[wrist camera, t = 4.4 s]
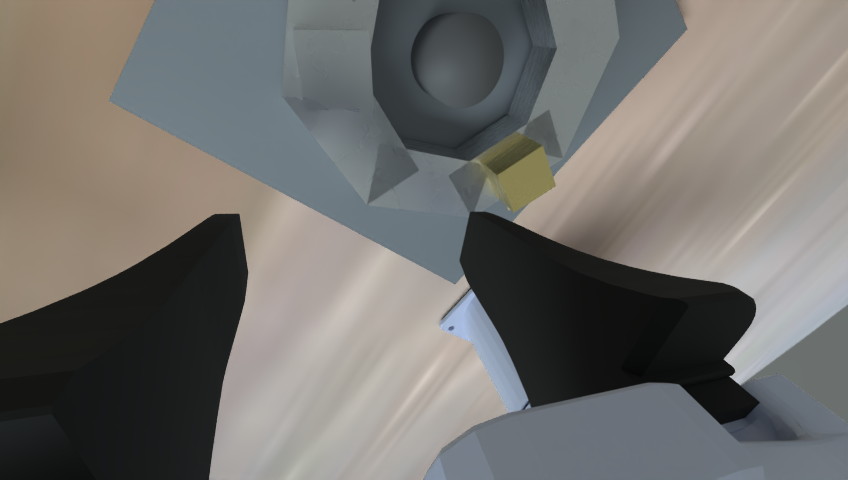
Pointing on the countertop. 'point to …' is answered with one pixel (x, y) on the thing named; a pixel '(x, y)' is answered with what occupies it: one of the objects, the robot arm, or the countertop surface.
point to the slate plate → (392, 88)
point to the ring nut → (431, 164)
